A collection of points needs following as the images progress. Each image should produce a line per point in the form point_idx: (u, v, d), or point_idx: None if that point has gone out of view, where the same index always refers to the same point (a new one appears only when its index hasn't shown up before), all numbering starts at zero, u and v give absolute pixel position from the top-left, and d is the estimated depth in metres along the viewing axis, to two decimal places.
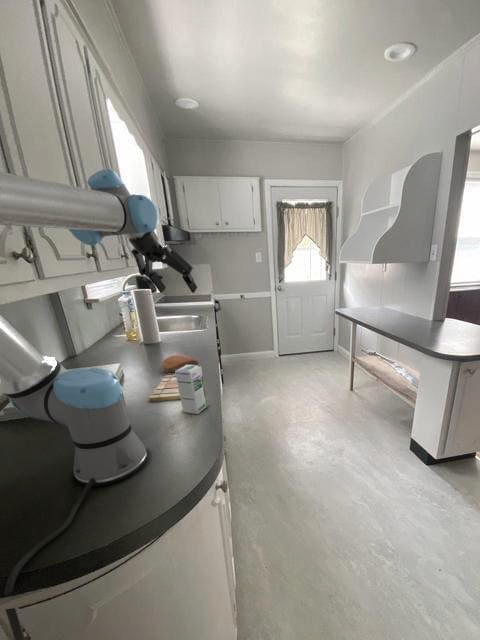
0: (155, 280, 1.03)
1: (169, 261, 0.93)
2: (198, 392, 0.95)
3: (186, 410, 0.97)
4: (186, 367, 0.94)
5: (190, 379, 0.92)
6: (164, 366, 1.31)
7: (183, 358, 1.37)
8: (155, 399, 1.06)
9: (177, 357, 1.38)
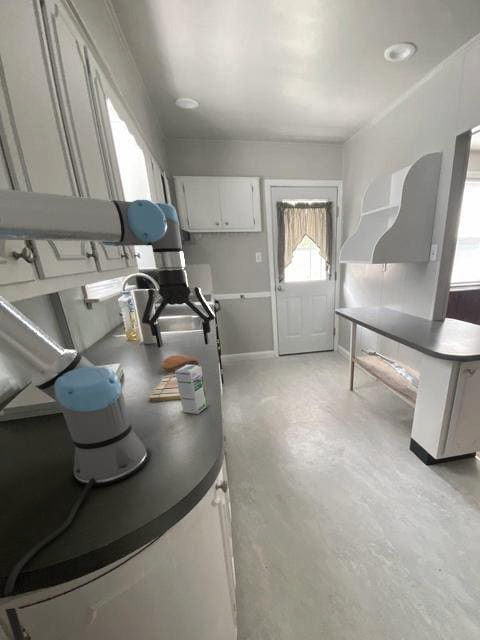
0: (158, 331, 0.88)
1: (193, 304, 0.86)
2: (198, 392, 0.95)
3: (186, 410, 0.97)
4: (186, 367, 0.94)
5: (190, 379, 0.92)
6: (164, 366, 1.31)
7: (183, 358, 1.37)
8: (155, 399, 1.06)
9: (177, 357, 1.38)
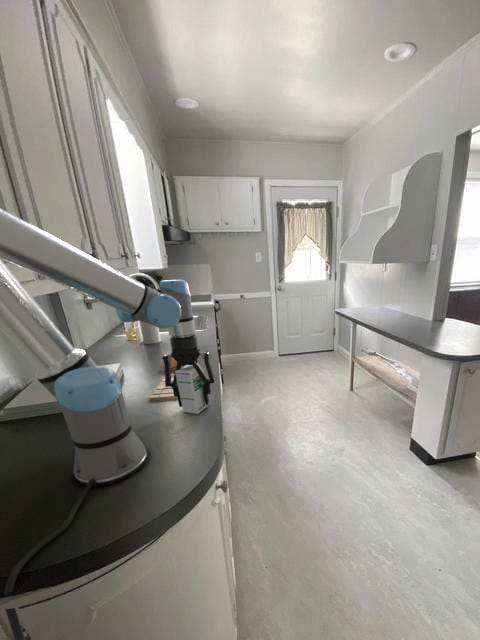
0: None
1: (199, 367, 0.93)
2: (198, 392, 0.95)
3: (186, 410, 0.97)
4: (186, 367, 0.94)
5: (190, 379, 0.92)
6: (164, 366, 1.31)
7: None
8: (155, 399, 1.06)
9: None
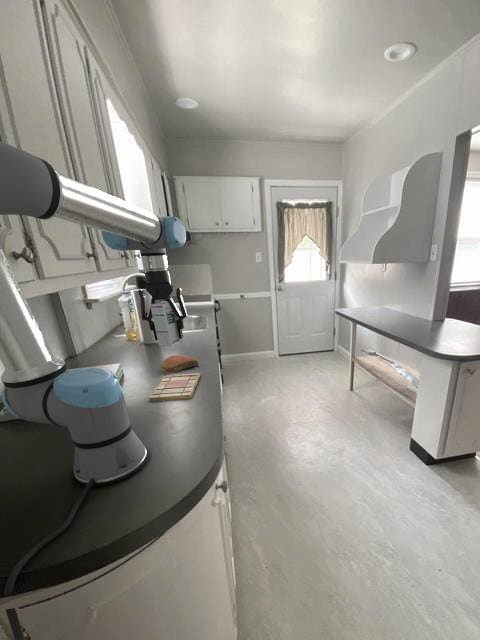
0: None
1: (172, 302, 1.03)
2: (172, 325, 1.04)
3: (161, 343, 1.06)
4: (160, 302, 1.03)
5: (163, 312, 1.01)
6: (164, 366, 1.31)
7: (183, 358, 1.37)
8: (155, 399, 1.06)
9: (177, 357, 1.38)
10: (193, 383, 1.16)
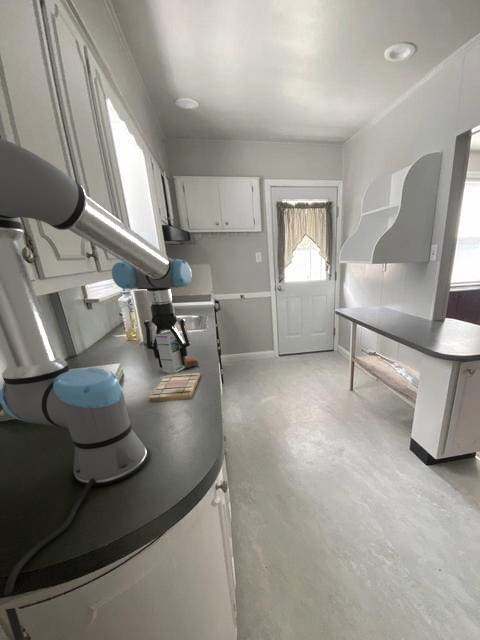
0: None
1: (176, 332, 1.08)
2: (176, 354, 1.10)
3: (166, 370, 1.12)
4: (165, 332, 1.09)
5: (168, 342, 1.06)
6: None
7: None
8: (155, 399, 1.06)
9: None
10: (193, 383, 1.16)
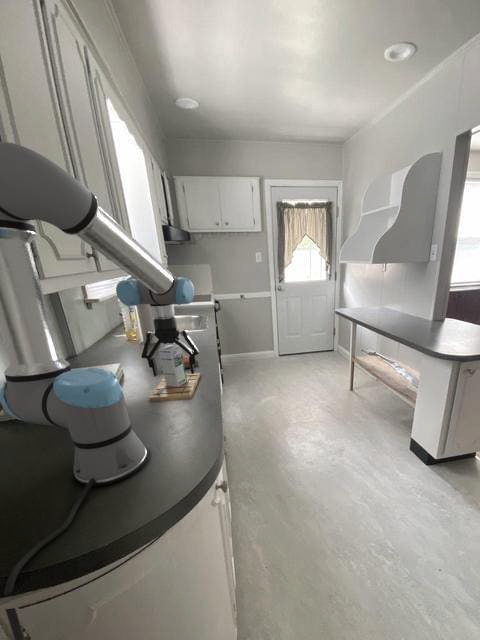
0: (154, 363, 1.11)
1: (181, 343, 1.10)
2: (178, 368, 1.12)
3: (168, 384, 1.14)
4: (168, 347, 1.11)
5: (171, 356, 1.08)
6: None
7: (183, 358, 1.37)
8: (155, 399, 1.06)
9: None
10: (193, 383, 1.16)
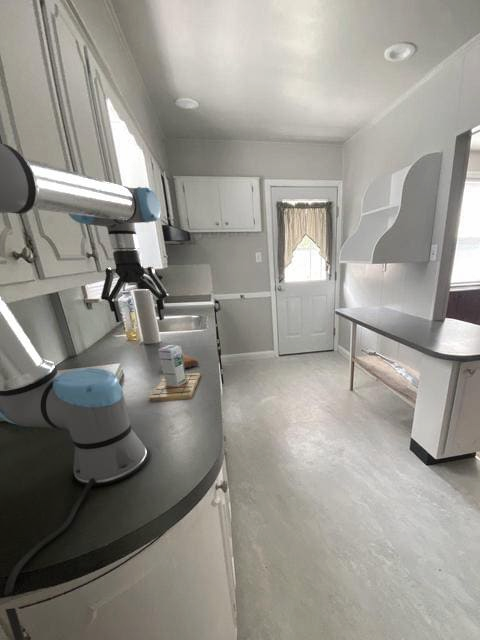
0: (116, 307, 0.97)
1: (147, 282, 0.96)
2: (178, 368, 1.12)
3: (168, 384, 1.14)
4: (168, 347, 1.11)
5: (171, 356, 1.08)
6: None
7: (183, 358, 1.37)
8: (155, 399, 1.06)
9: None
10: (193, 383, 1.16)
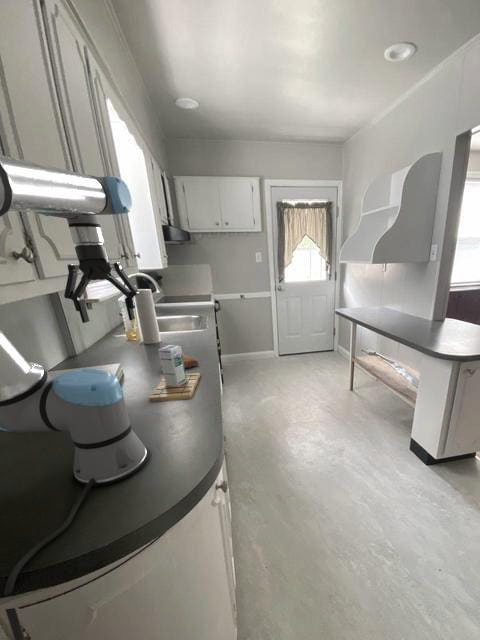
0: (81, 306, 0.90)
1: (114, 280, 0.89)
2: (178, 368, 1.12)
3: (168, 384, 1.14)
4: (167, 347, 1.11)
5: (171, 356, 1.08)
6: None
7: (183, 358, 1.37)
8: (155, 399, 1.06)
9: None
10: (193, 383, 1.16)
